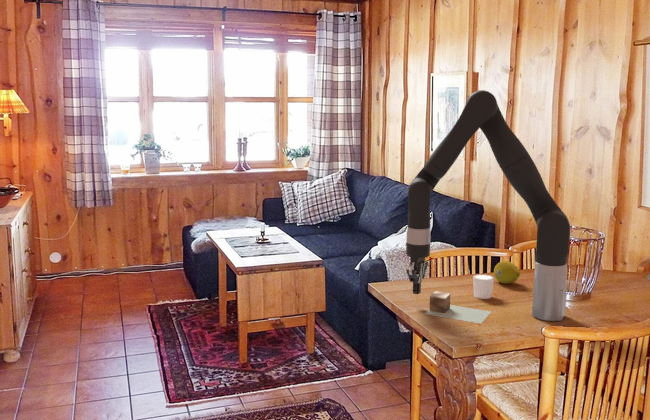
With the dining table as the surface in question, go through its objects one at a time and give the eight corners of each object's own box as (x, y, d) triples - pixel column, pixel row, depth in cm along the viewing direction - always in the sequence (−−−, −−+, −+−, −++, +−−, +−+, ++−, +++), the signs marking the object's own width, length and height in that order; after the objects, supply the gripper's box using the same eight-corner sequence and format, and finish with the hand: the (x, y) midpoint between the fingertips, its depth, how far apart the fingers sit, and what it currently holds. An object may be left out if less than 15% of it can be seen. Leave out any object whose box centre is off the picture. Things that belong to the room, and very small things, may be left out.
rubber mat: (491, 312, 212) (491, 311, 212) (480, 324, 202) (480, 323, 202) (437, 303, 221) (437, 302, 221) (423, 314, 211) (423, 313, 210)
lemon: (488, 280, 246) (489, 259, 245) (507, 278, 249) (508, 257, 247) (505, 288, 236) (506, 266, 235) (524, 286, 238) (525, 264, 237)
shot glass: (493, 300, 224) (494, 280, 222) (472, 299, 225) (473, 279, 224) (492, 294, 230) (493, 274, 229) (472, 293, 232) (472, 273, 230)
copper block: (449, 308, 215) (450, 293, 214) (444, 313, 211) (445, 297, 210) (435, 306, 217) (435, 291, 217) (429, 310, 213) (429, 295, 212)
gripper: (421, 246, 206) (420, 301, 210) (436, 238, 218) (434, 289, 221) (399, 243, 210) (397, 297, 213) (415, 235, 221) (413, 286, 225)
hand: (416, 293), depth 217 cm, fingers closed
